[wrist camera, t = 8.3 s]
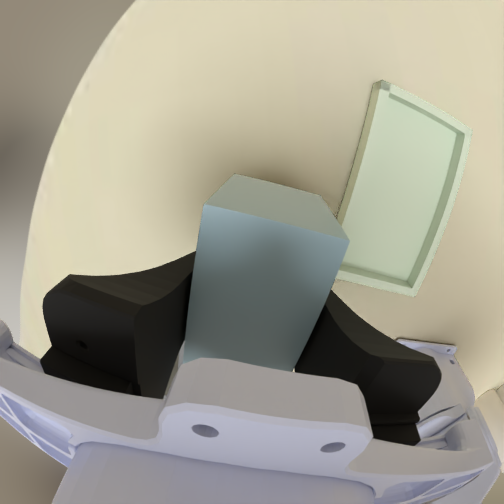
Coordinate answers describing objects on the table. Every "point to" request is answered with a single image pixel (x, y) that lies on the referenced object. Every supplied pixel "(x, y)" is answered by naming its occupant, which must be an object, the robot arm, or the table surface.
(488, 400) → the vase
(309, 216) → the tall blue-grey prism
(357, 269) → the tray
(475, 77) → the table surface
